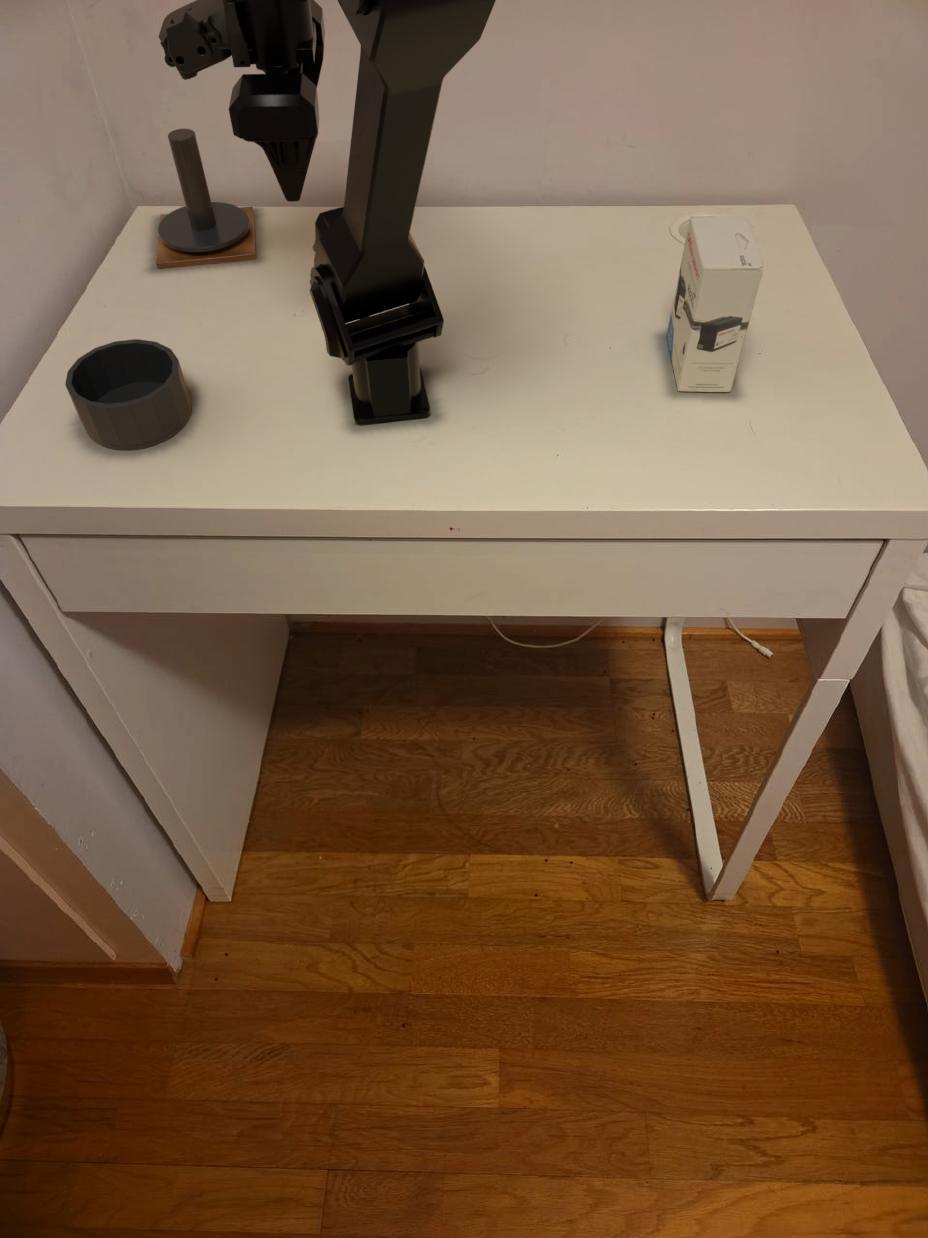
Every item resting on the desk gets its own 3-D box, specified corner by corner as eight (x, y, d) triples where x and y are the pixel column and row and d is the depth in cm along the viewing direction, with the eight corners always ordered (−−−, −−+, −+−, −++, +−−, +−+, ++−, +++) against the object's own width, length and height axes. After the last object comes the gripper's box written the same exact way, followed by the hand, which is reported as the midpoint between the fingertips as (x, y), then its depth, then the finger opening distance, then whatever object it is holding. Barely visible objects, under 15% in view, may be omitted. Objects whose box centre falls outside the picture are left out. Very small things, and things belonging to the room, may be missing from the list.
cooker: (190, 443, 75) (176, 399, 71) (79, 456, 74) (59, 412, 70) (192, 377, 80) (179, 334, 77) (89, 388, 79) (71, 345, 76)
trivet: (255, 259, 92) (254, 253, 92) (157, 268, 91) (155, 263, 91) (254, 211, 98) (253, 205, 98) (161, 219, 97) (160, 214, 97)
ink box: (664, 335, 83) (688, 212, 74) (718, 336, 83) (748, 212, 74) (675, 393, 78) (702, 268, 69) (732, 394, 78) (766, 268, 69)
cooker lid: (190, 268, 90) (162, 166, 82) (144, 232, 95) (113, 132, 87) (268, 235, 94) (249, 135, 86) (220, 202, 98) (198, 104, 90)
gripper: (168, -88, 69) (212, 121, 82) (130, 10, 58) (188, 234, 71) (312, -89, 70) (334, 119, 82) (302, 8, 59) (329, 230, 72)
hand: (295, 171), depth 77 cm, fingers open, 9 cm apart
